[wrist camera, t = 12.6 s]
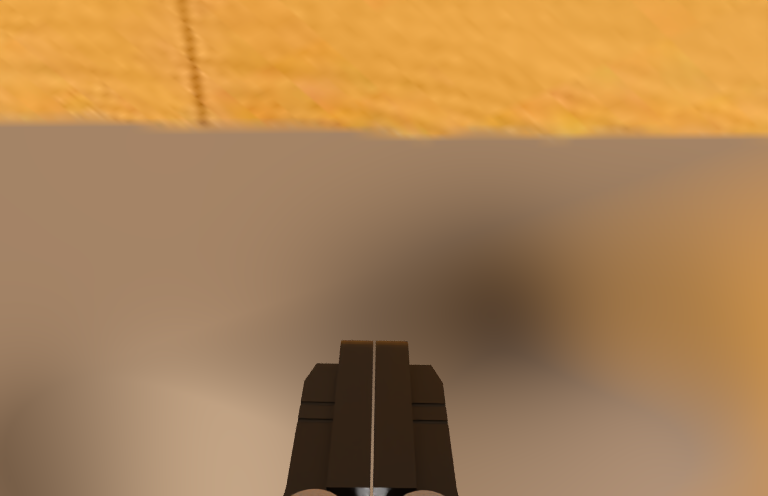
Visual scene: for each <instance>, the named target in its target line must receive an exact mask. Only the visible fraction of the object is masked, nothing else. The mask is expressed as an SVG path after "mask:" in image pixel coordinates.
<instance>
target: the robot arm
mask: <svg viewBox="0 0 768 496" xmlns="http://www.w3.org/2000/svg"><path fill="white" fill-rule="evenodd" d="M340 347H341V348H340V357H339V364H320V363H318V364H316V365H315V367H314V368H313V370H312V371H311V372H310V374H309V375H308V377H307V378H306V380H305V381H304V387H303V392H302V398H301V406H300V410H299V416H298V423H297V427H296V433H295V439H294V445H293V450H292V456H291V462H290V468H289V474H288V479H287V485H286V489H285V493H284V495H283V496H370V469H371V423H372V422H371V421H372V374H373V371H372V369H373V341H354V340H352V341H351V340H342V341H341V346H340ZM447 421H448V420H447V413H446V407H445V397H444V389H443V383H442V381H441V380H440V378H439V377H438V375H437V374H436V372H435V370H434V369H433V367H432V366H431V365H409V351H408V342H407V341H376V362H375V413H374V469H373V472H374V473H373V496H458V493H457V488H456V481H455V473H454V466H453V458H452V451H451V444H450V436H449V428H448V422H447Z"/></svg>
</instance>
